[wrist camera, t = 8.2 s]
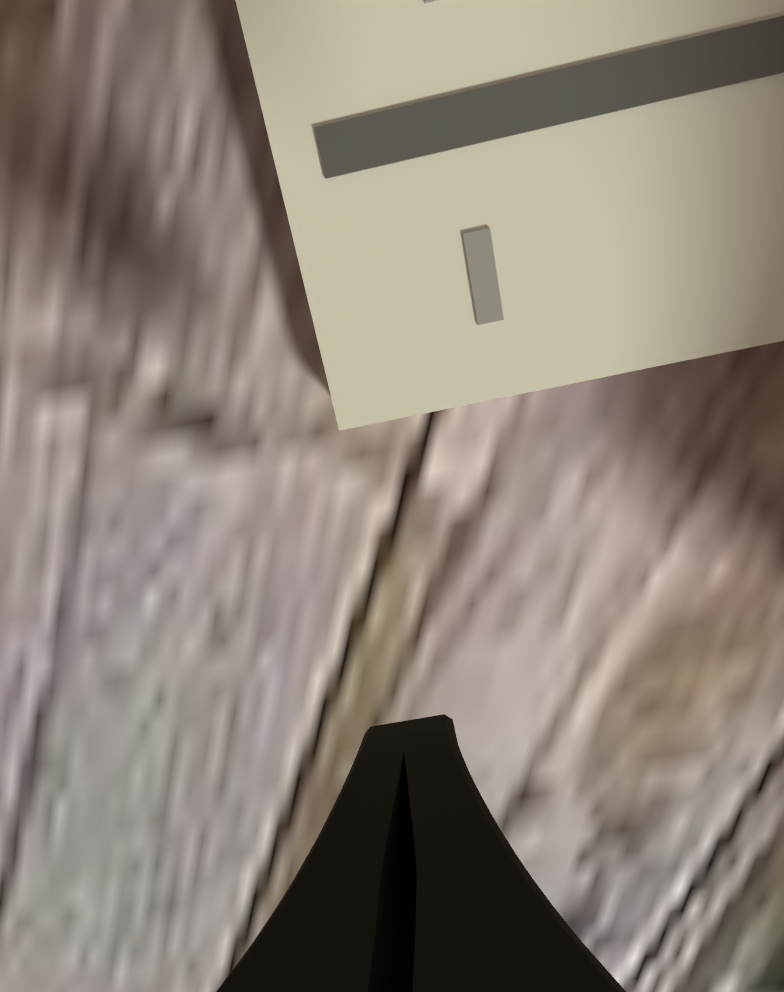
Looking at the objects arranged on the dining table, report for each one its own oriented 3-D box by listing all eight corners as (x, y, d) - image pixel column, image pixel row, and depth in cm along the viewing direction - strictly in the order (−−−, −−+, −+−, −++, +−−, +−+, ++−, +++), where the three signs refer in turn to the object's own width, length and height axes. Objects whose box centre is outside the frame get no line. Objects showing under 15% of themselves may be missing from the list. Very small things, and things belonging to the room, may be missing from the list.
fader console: (1225, -404, 13) (1371, -518, 11) (1131, 251, 17) (1226, 252, 15) (217, -131, 15) (188, -188, 13) (345, 411, 19) (339, 431, 17)
